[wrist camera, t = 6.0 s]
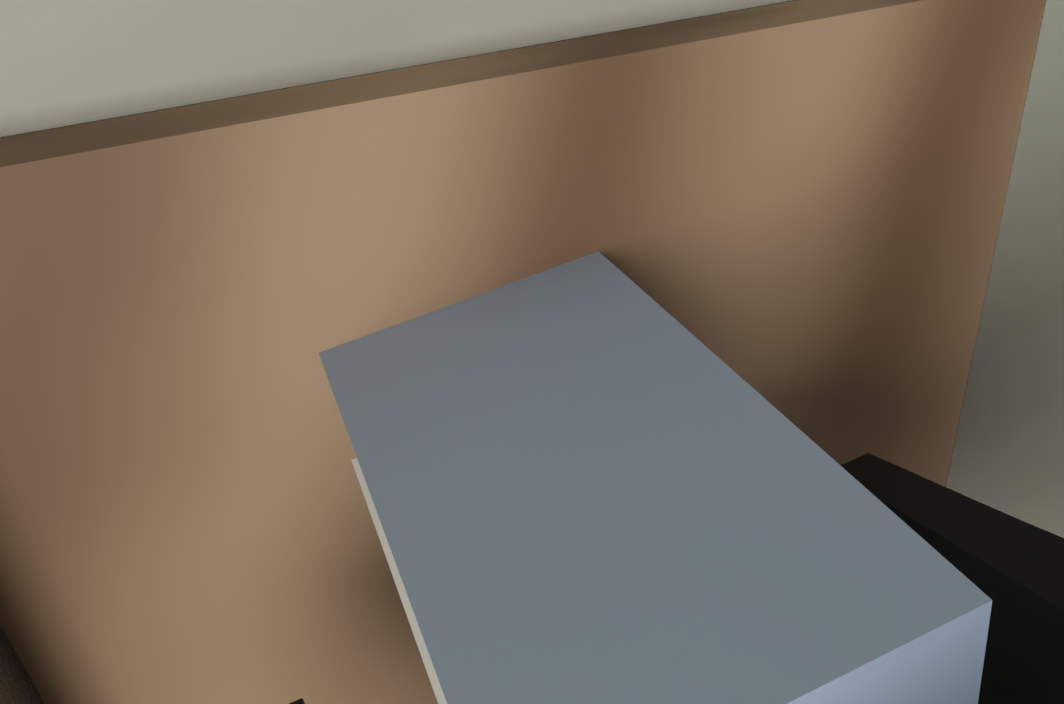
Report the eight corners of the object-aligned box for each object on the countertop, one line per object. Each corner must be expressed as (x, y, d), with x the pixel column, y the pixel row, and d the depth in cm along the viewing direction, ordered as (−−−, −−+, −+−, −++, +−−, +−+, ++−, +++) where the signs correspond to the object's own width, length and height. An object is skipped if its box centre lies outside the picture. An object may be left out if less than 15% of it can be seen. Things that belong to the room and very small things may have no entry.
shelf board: (987, -33, 14) (1050, -23, 13) (888, 540, 20) (927, 575, 19) (-196, 172, 10) (-230, 208, 9) (144, 819, 16) (144, 883, 15)
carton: (598, 250, 12) (993, 600, 7) (648, 553, 16) (941, 958, 10) (312, 355, 12) (489, 852, 6) (428, 651, 15) (613, 1153, 9)
